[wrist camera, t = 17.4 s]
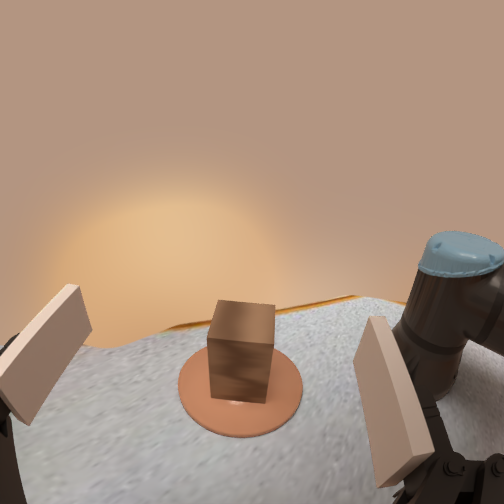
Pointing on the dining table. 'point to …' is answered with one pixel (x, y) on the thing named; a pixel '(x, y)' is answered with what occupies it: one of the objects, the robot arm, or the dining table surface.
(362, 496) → the dining table surface
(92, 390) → the dining table surface
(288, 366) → the dish
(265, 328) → the walnut block
